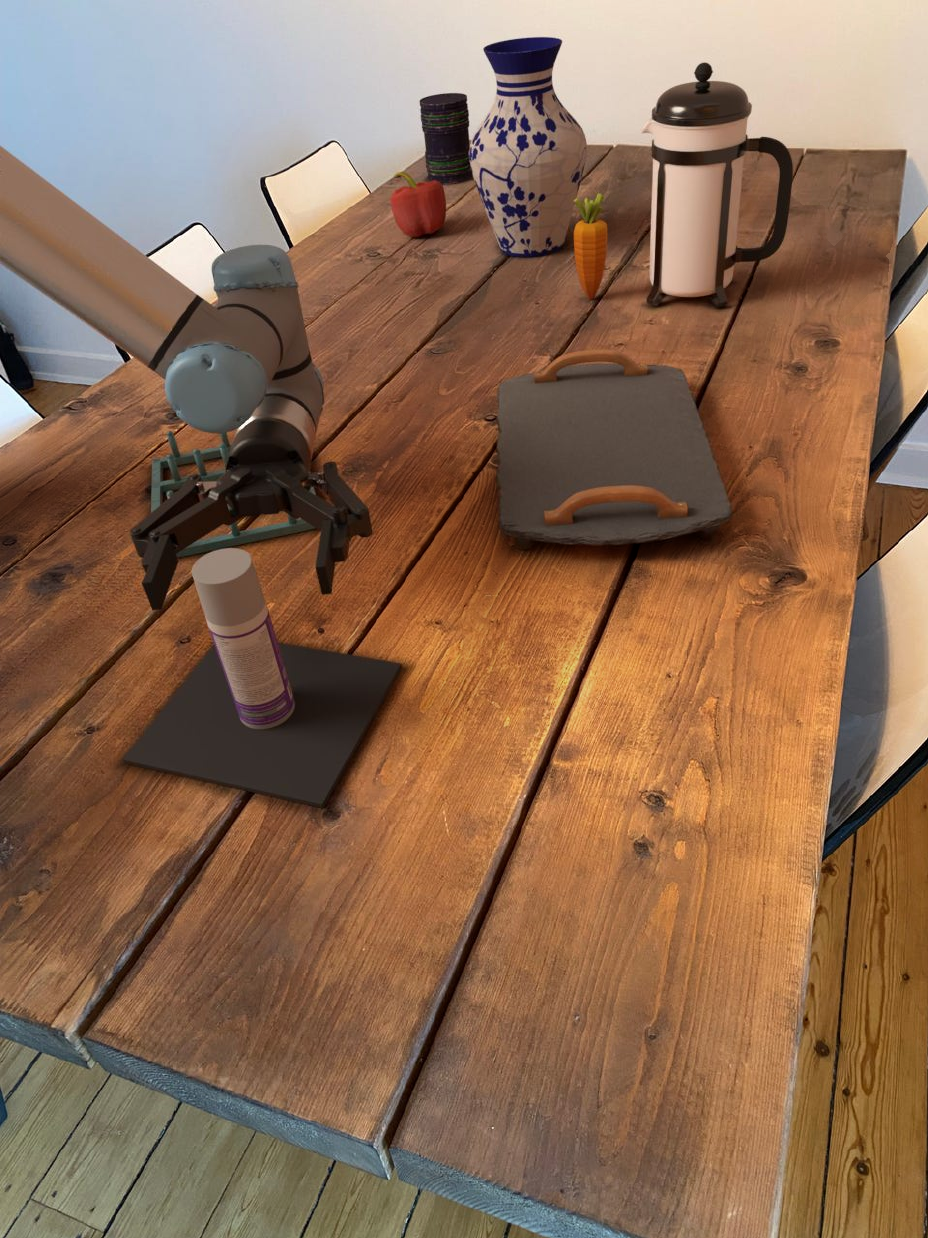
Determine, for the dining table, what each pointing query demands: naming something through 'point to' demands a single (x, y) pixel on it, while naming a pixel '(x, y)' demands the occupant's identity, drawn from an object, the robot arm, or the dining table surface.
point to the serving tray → (604, 455)
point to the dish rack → (198, 457)
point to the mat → (279, 756)
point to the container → (244, 637)
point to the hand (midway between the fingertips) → (237, 589)
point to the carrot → (590, 245)
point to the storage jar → (446, 137)
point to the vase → (527, 150)
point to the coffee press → (704, 188)
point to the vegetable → (419, 206)
